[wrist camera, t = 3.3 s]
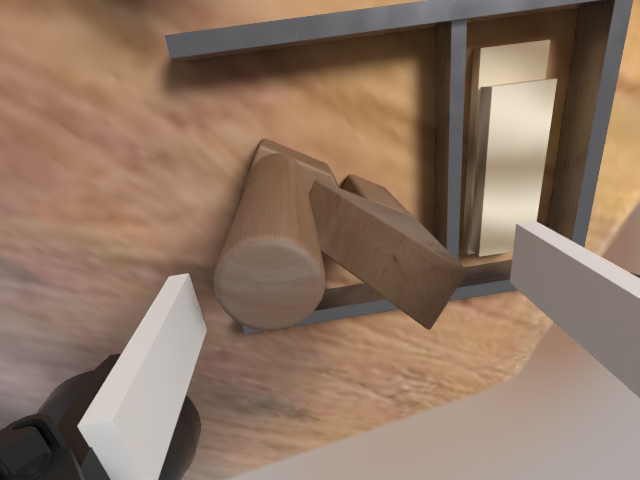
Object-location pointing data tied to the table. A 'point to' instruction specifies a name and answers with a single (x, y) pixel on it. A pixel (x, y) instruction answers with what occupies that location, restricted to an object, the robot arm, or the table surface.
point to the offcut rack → (461, 111)
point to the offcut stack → (506, 143)
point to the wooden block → (324, 245)
